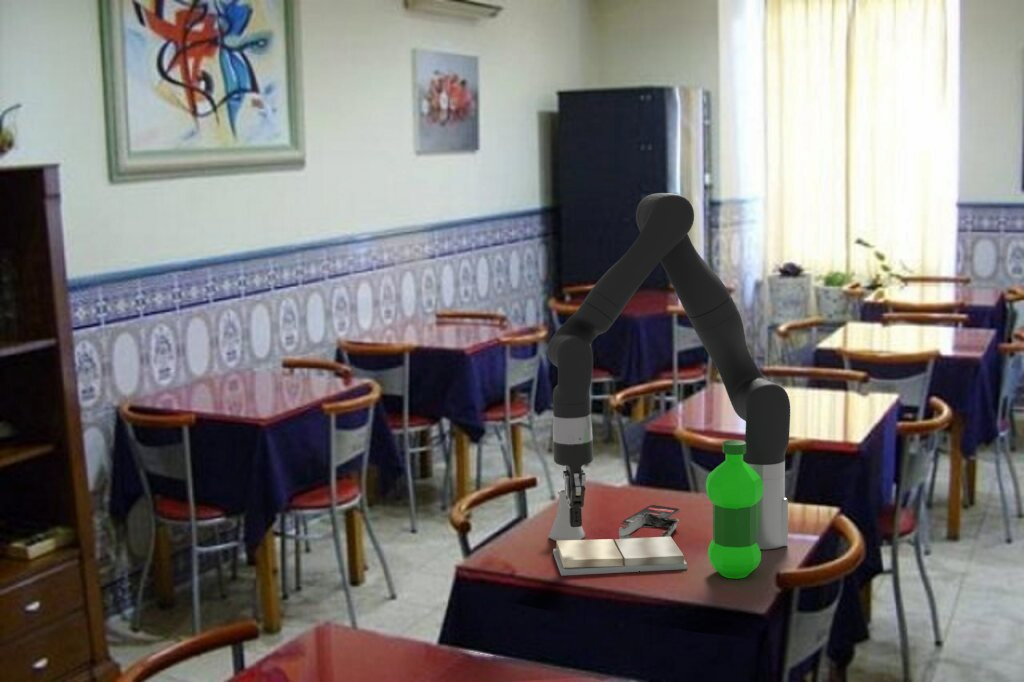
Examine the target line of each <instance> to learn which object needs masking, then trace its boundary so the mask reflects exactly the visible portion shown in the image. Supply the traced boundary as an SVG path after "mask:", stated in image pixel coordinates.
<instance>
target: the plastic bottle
mask: <svg viewBox="0 0 1024 682" xmlns="http://www.w3.org/2000/svg"><path fill="white" fill-rule="evenodd" d="M722 453H723V454H725V460H724V461H723V462H721V463H720V464H719V465H717V466H716V467H715V468H713V470H712V471H710V473H708V474H707V478H706V479H705V490H706V495H707V497H708V499H709V500H710V502H711V503H712V539H711V541H710V543H709V545H708V547H707V556H708V559H709V561H710V563H711V566H712V567H713V569H714V570H715V571H716V572H718V574H720V575H721V576H722V577H724V578H728V579H736V580H738V579H745V578H746V577H748V576H749V575H750V574H751V573H752V572H753V571H755V570H756V569H757V567H759V565H760V563H761V561H762V551H761V549H759V546H758V544H757V543H756V504H757V503H758V502H759V501H760V500H761V499H762V495H763V482H762V480H761V477H760V476H759V475H758V473H757V472H755V471H754V470H753V469H752V468H751V467H750V466H749V465H748V464H747V463H745V462H744V461H743V454H745V453H746V442H744V440H739V439H730V440H724V441H722Z"/></svg>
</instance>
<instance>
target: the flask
mask: <svg viewBox="0 0 1024 682" xmlns="http://www.w3.org/2000/svg"><path fill="white" fill-rule="evenodd" d="M557 495H558V497H559V499H558V500H559V502H558V507H557V512H556V514H555V518H554V521H553V524H552V527H551V529H550V532H549V534H548V538H549V539H550V540H553V541H555V542H556V541H559V540H583V539H584V538H585V537H586V532H585V530H584V529H583V526H581V527H571V525H570V522H569V506H568V504H567V502H568V500H567V499H566V493H565V488H563V489H559V490H558V491H557Z"/></svg>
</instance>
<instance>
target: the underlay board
mask: <svg viewBox="0 0 1024 682" xmlns="http://www.w3.org/2000/svg"><path fill="white" fill-rule="evenodd" d="M552 550H553V551H552V552H553V553H552V554H553V556H554V559H555V562H556V565H557V568H558V571H559V573H560V576H580V575H581V576H582V575H597V574H598V575H599V574H615V573H618V574H619V573H620V574H621V573H636V572H639V571H640V572H656V571H657V572H658V571H672V570H673V571H676V570H688V563H687V562H686V560H685V559H684V563H678V564H659V565H640V566H625V565H624V563H623V566H608V567H572V568H564V567H563V564H562V562H561V559H560V556H559V554H558V551H557V548H553V549H552Z"/></svg>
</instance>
